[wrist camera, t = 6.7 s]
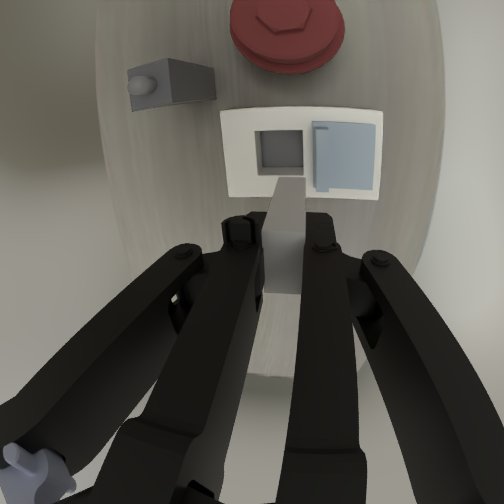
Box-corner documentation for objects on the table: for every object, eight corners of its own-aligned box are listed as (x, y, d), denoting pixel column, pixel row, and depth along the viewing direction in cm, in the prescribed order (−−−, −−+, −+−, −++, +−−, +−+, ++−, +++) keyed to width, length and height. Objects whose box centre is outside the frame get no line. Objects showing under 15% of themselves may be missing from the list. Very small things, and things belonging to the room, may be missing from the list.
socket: (229, 109, 29) (219, 111, 26) (373, 109, 26) (382, 111, 23) (236, 186, 35) (228, 197, 31) (370, 188, 31) (378, 200, 28)
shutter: (312, 120, 25) (313, 124, 22) (373, 124, 24) (383, 128, 21) (313, 185, 29) (314, 196, 26) (370, 187, 27) (378, 199, 24)
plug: (182, 74, 28) (113, 69, 16) (213, 68, 27) (155, 55, 15) (185, 103, 30) (118, 114, 18) (216, 98, 29) (160, 104, 17)
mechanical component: (324, 1, 20) (342, 75, 25) (239, 13, 23) (256, 85, 27) (333, -44, 10) (365, 62, 15) (204, -23, 12) (229, 79, 17)
